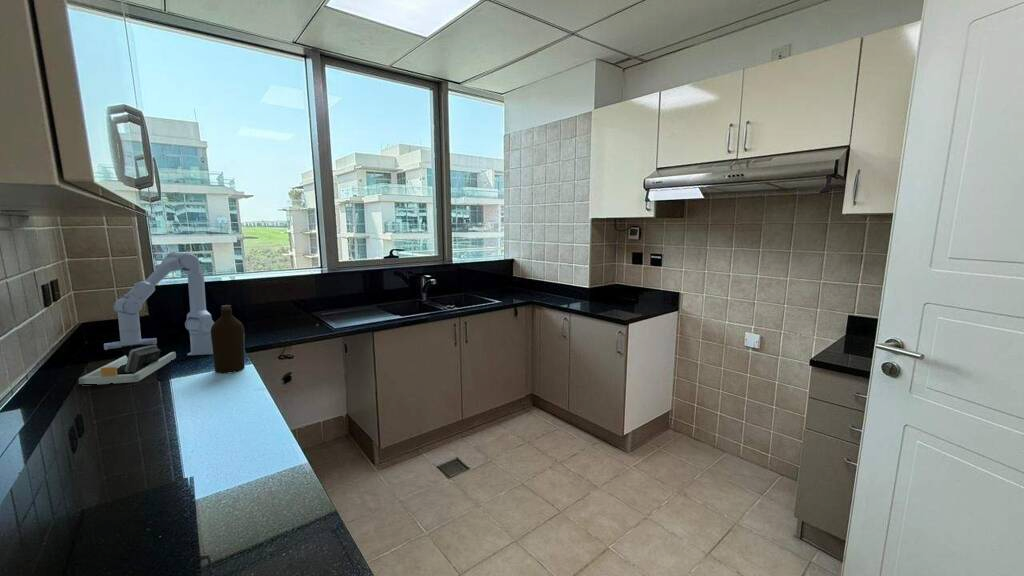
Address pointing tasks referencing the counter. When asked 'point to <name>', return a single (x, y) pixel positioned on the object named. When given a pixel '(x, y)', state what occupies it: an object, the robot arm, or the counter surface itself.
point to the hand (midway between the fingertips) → (133, 365)
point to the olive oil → (227, 342)
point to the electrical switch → (142, 358)
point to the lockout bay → (109, 374)
